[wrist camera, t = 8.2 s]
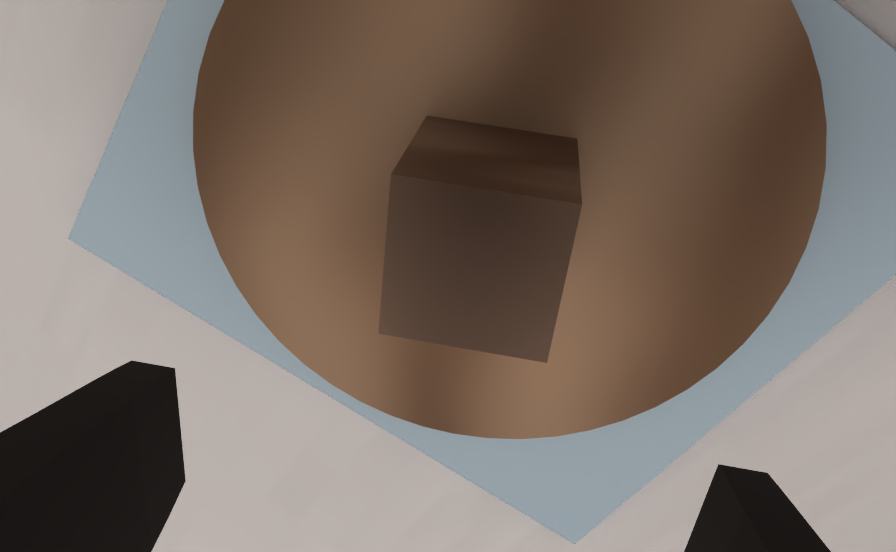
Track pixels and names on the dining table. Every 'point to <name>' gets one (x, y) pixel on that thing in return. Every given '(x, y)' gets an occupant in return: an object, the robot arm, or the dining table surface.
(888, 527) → the dining table surface
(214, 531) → the dining table surface
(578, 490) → the mat
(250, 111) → the lid
